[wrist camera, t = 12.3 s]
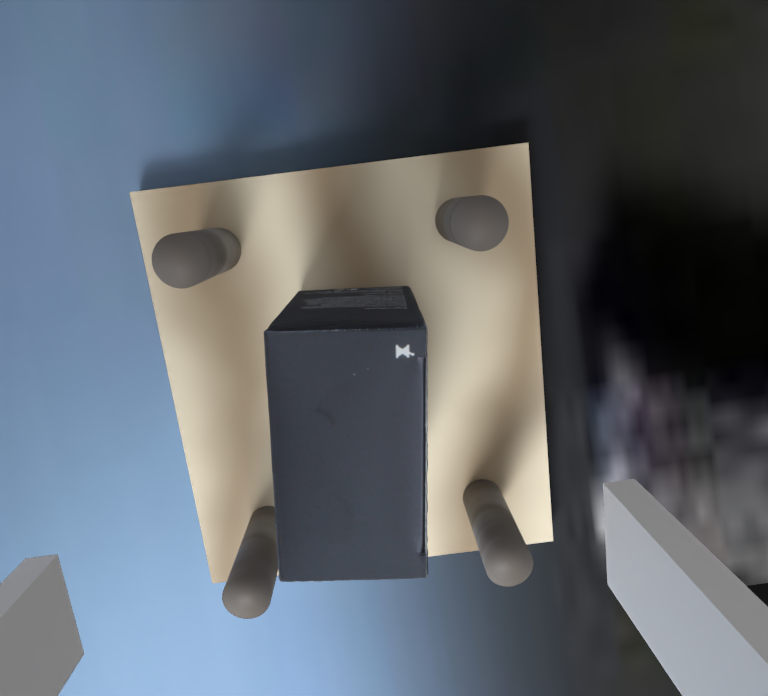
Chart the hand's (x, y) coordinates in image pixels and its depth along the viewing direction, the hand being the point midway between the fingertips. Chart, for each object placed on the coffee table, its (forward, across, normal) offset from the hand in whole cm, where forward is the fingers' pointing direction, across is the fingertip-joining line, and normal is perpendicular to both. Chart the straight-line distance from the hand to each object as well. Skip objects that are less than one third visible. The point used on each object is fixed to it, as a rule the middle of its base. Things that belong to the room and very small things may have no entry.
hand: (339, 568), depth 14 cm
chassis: (+16, 0, 0) cm, 16 cm away
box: (+15, 0, 0) cm, 15 cm away
